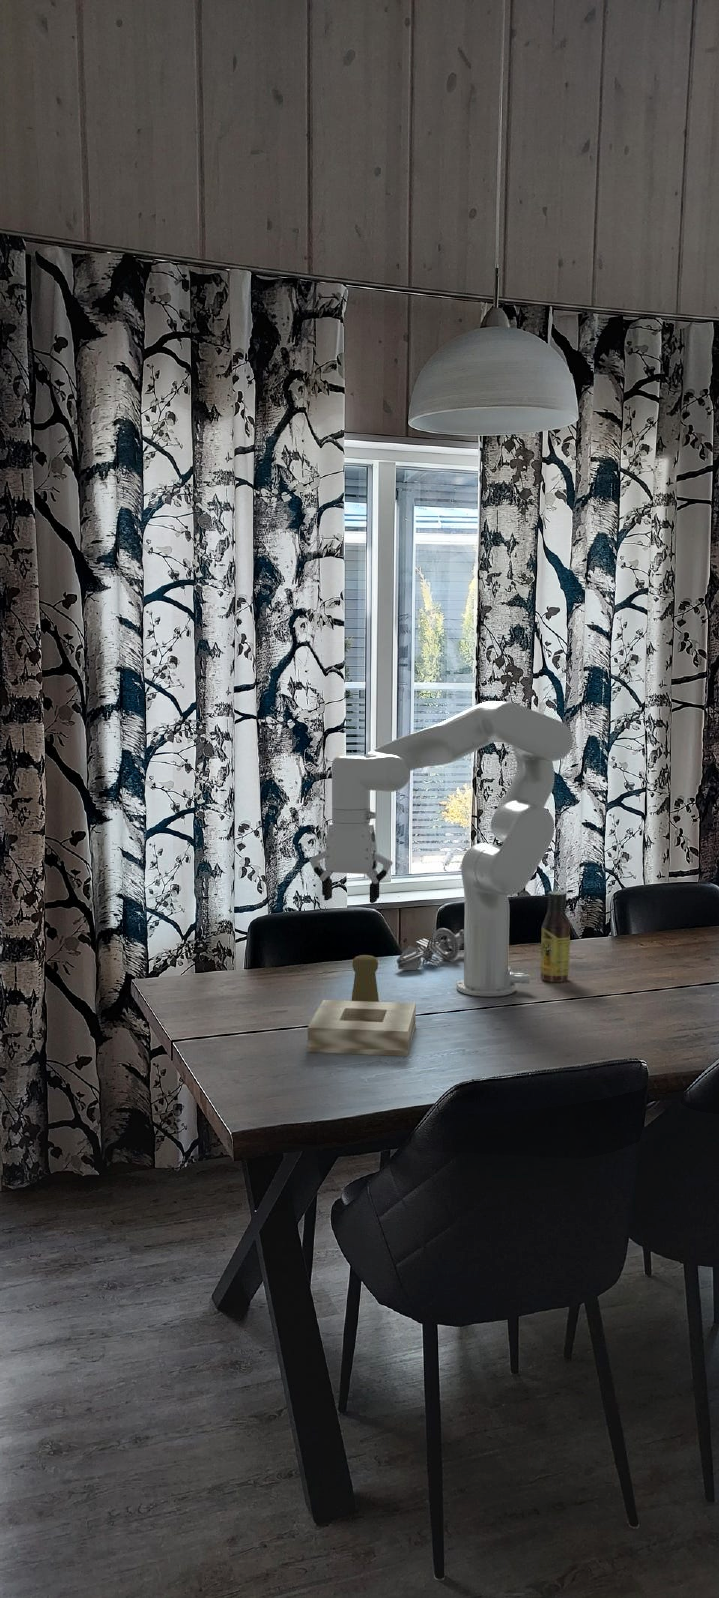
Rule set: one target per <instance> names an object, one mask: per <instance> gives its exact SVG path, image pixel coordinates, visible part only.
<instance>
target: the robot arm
mask: <svg viewBox="0 0 719 1598" xmlns="http://www.w3.org/2000/svg"><path fill="white" fill-rule="evenodd" d="M493 743H504V744H507V745H510V746H511V748H512V750H513V752H514V756H515V759H516V771H515V775H514V777H513V779H512V782H511V783H510V786H509V787H508V789H507V790H506V793H505V795H504V796H503V798H502V799H501V801H500V803H499V804H498V807H497V808H496V809H495V812H494V814H493V815H492V817H491V820H490V830H491V832H492V835H493V836H494V838H495V839H497V840H498V841H500V842H502V845H501V846H500V845H497V844H493V843H487V842H483V843H482V842H481V843H477V844H474V845H472V846H471V847H469V848H468V850H466V852H465V853H464V855H463V856H462V857H463V858H462V859H461V865H460V867H461V868H460V870H461V879H462V886H463V894H464V895H463V897H464V921H463V922H464V926H463V927H464V929H463V930H464V943H463V944H464V945H463V946H464V947H463V978H462V979H460V980H458V981H457V982H456V990H457V991H459V992H460V993H462V994H465V995H469V996H474V997H485V998H487V997H488V998H489V997H490V998H491V997H492V998H493V997H504V996H507V995H511V994H513V993H514V992H515V991H516V984H523V985H525V984H526V985H530V983H531V982H530V980H531V979H530V974H525V973H523V972H513V971H511V966H509V960H510V959H509V958H510V957H509V955H510V954H509V953H510V952H509V951H510V947H509V945H510V902H509V896H513V895H516V894H518V893H520V892H521V891H523V889H525V887H526V886H527V885H528V883H529V882H530V881H531V879H532V877H533V876H534V875H535V872H536V870H537V869H538V867H539V865H540V863H541V861H542V860H543V858H544V856H545V854H546V853H547V850H549V847H550V845H551V843H552V840H553V839H554V834H555V821H554V818H553V816H552V813H551V812H550V811H549V810H548V809H547V808H546V807H545V806H546V803H547V802H548V800H549V798H550V796H551V793H552V791H553V788H554V785H555V768H554V762H557V761H560V760H563V759H564V758H565V757H567V756H568V755H569V753H570V752H571V751H572V748H573V743H574V738H573V735H572V732H571V730H570V728H569V727H568V726H567V724H565V723H564V722H562V721H560V720H559V719H556V718H552V717H551V716H548V715H545V714H543V713H541V712H538V711H535V710H532V709H530V708H528V707H525V706H522V705H520V704H519V703H515V702H512V701H498V700H497V701H496V700H489V701H483V702H482V703H478V704H477V705H475V706H473V707H471V708H469V709H466V710H464V711H462V712H460V713H458V714H456V715H454V716H452V717H449V718H447V719H446V720H444V721H441V722H439V723H437V724H434V725H432V726H430V727H426V728H423V729H421V730H419V731H416V732H413V733H410V734H407V735H404V736H402V737H399V738H397V739H393V740H391V741H389V742H386V743H385V744H383V745H380V746H379V747H376V748H374V749H372V750H370V751H368V752H366V753H365V754H364V755H363V756H362V755H340V756H336V757H334V758H333V760H332V762H331V822H330V823H328V827H327V833H326V840H325V846H324V847H325V848H324V849H325V850H324V851H322V852H320V853H318V854H316V855H314V856H313V857H310V858H309V859H308V860H309V863H310V865H311V868H312V869H313V871H314V873H315V875H316V876H317V877H318V878H319V880H320V881H321V895H322V896H323V901H329V900H330V899H332V898H333V880H332V878H331V876H332V875H333V874H334V873H339V874H358V875H365V874H366V876H367V877H368V878H369V880H370V881H371V882H370V883H369V903H370V904H375V903H376V902H377V901H378V899H379V898H380V882H381V881H382V880H383V879H385V877H386V876H387V875H388V873H389V871H390V870H391V868H392V866H393V861H392V860H390V859H388V858H387V857H385V856H383V855H382V854H380V853H378V849H377V841H376V839H377V838H376V832H375V831H376V830H375V827H374V824H373V822H372V823H371V822H370V821H371V820H373V819H374V820H375V819H376V818H377V812H375V811H371V808H370V791H375V792H385V793H394V792H398V791H400V790H402V789H403V788H405V786H407V785H408V783H409V782H410V781H409V780H410V778H411V771H415V770H417V769H421V768H422V769H423V768H425V767H426V768H427V767H434V766H435V767H437V766H443V765H447V764H451V763H455V762H456V761H458V760H460V759H463V758H464V757H466V756H468V755H470V754H473V753H474V752H476V751H478V750H480V749H482V748H484V747H486V746H489V745H490V744H493ZM323 859H324V867H325V869H324V868H323V867H322V866H320V861H322V860H323ZM378 863H379V864H381V865H382V868H381V871H380V872H378V871H377V870H376V869H377V868H378Z"/></svg>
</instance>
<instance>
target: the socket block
mask: <svg viewBox="0 0 719 1598" xmlns="http://www.w3.org/2000/svg"><path fill="white" fill-rule="evenodd" d="M416 1006H417V1004H416V1002H396V1001H395V1002H389V1001H387V1002H386V1001H379V1002H368V1001H351V1000H338V999H337V1000H334V999H323V1000H322V1002H321V1003H320V1005H319V1006H318V1008H317V1010H316V1011H315V1014H314V1015H313V1017H312V1019H311V1021H310V1023H309V1024H308V1026H307V1052H308V1053H322V1054H323V1053H325V1054H343V1055H344V1054H349V1055H351V1054H352V1055H366V1056H367V1055H369V1056H370V1055H372V1056H373V1055H375V1056H391V1057H392V1056H393V1057H394V1056H395V1057H396V1056H397V1057H408V1056H409V1053H410V1049H411V1045H412V1040H413V1037H414V1034H415V1029H416V1023H417V1021H416V1019H417V1018H416V1017H417V1016H416V1012H417V1011H416V1010H417V1009H416V1008H417V1007H416Z"/></svg>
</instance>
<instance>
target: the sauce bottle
mask: <svg viewBox="0 0 719 1598" xmlns="http://www.w3.org/2000/svg"><path fill="white" fill-rule="evenodd" d="M547 899H548V904H547V912H546V913H545V916H544V917H545V918H544V920H543V922H542V925H541V939H540V940H541V942H540V966H539V967H540V968H539V969H540V970H539V971H540V978H541V979H542V980H543V981H545V982H548V983H564V982H567V980H568V978H569V976H568V975H569V972H570V971H569V969H570V967H569V966H570V946H571V944H570V943H571V942H570V941H571V934H570V933H571V932H570V931H571V930H570V929H571V928H570V927H571V924H570V919H569V918H568V916H567V914H566V900H567V892H565V891H563V890H562V891H561V890H550V891H549V892H548V893H547Z"/></svg>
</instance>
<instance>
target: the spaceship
mask: <svg viewBox="0 0 719 1598" xmlns="http://www.w3.org/2000/svg"><path fill="white" fill-rule="evenodd" d="M445 937H446V938H445ZM441 938H442V939H441ZM416 943H418V944H420V945H421V946H420V947H414V946H411V945H409V946H408V947H407V948H406V949H405V950H404V951H403V952H402V953H401V954H400V955H399V957H398V958H397V959H396V961H395V962H396V963H397V964H396V965H395V967H397V968H398V970H403V971H417V970H416V969H418V968H419V969H420V967H421V965H423V964H424V965H425V964H428V963H432V964H434V965H437V963H438V964H439V963H440V962H443V960H444V959H447V960H446V961H448V960H450V961H453V960H455V959H456V958H457V956H458V954H459V952H460V947H461V945H462V944H464V929H460V930H459V932H457V933H456V934H454V932H452V931H451V930H450V929H448V928H445V927H440V928H438V929H436V931H435V932H434V933H433V936H432V939H429V940H428V939H426V938H422V939H419V940H418V941H417V940H416ZM424 947H425V948H424ZM450 950H451V951H450ZM434 955H435V956H434ZM438 957H439V958H438ZM419 969H418V970H419Z"/></svg>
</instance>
